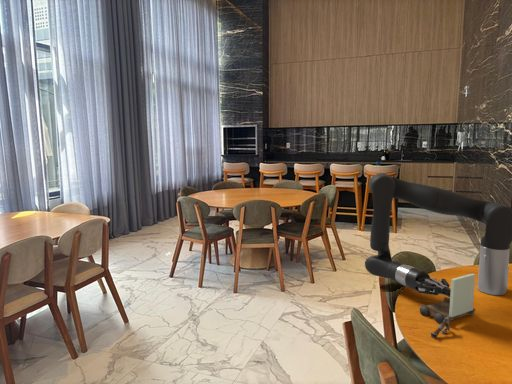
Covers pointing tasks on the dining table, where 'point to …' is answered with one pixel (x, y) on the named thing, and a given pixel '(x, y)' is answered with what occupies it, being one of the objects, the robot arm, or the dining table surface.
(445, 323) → the wooden post with brackets
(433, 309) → the flatbed
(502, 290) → the robot arm
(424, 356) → the dining table surface
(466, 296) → the panel
